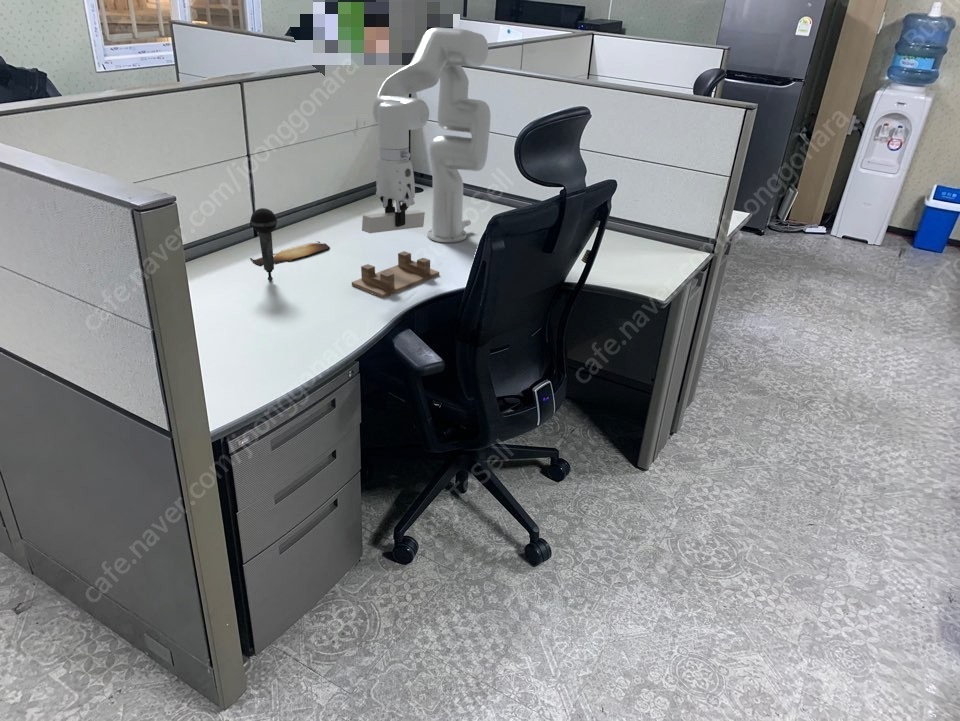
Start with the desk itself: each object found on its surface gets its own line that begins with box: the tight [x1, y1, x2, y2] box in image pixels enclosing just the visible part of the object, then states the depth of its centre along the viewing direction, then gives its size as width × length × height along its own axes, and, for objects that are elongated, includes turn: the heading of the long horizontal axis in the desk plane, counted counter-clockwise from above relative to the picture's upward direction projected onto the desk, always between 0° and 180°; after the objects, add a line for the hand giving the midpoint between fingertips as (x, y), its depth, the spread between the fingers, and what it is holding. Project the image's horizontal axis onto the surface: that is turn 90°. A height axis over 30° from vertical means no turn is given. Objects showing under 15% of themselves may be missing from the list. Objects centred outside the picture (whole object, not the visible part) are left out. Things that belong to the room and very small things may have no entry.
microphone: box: [249, 208, 278, 282], centre depth 190 cm, size 7×7×20 cm
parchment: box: [249, 240, 331, 267], centre depth 213 cm, size 25×10×1 cm, turn 135°
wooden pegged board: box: [351, 250, 440, 299], centre depth 197 cm, size 22×12×5 cm, turn 141°
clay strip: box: [361, 209, 426, 234], centre depth 190 cm, size 20×3×4 cm, turn 141°
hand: (395, 223), depth 190 cm, fingers closed on clay strip, 3 cm apart
